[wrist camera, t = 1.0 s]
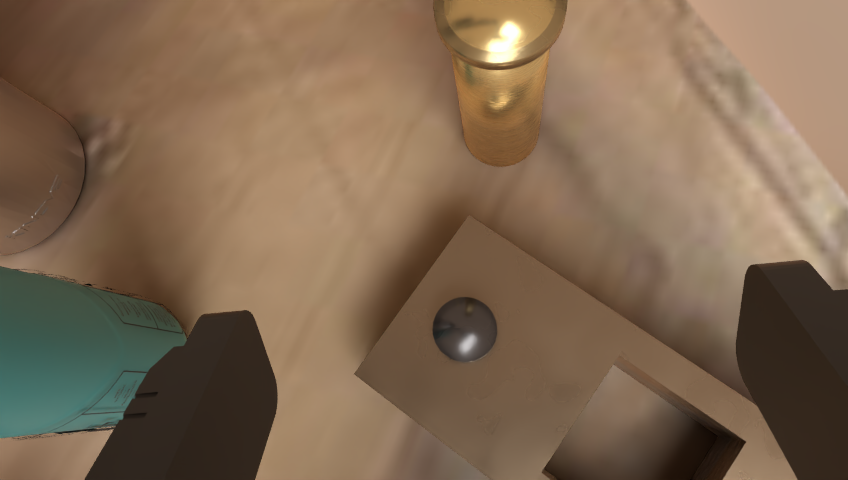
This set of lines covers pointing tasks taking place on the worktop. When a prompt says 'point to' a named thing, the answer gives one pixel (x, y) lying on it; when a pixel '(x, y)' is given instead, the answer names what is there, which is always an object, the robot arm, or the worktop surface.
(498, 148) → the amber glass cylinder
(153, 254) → the worktop surface
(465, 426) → the metal socket block
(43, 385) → the beverage bottle
